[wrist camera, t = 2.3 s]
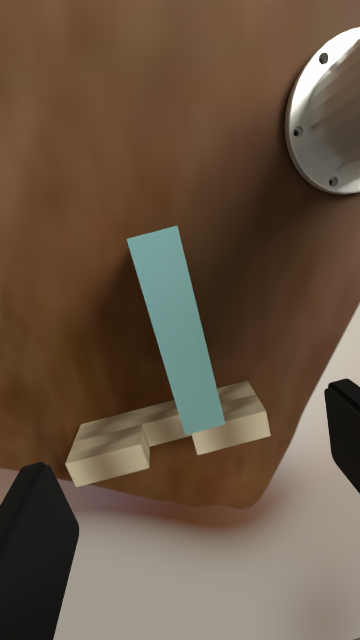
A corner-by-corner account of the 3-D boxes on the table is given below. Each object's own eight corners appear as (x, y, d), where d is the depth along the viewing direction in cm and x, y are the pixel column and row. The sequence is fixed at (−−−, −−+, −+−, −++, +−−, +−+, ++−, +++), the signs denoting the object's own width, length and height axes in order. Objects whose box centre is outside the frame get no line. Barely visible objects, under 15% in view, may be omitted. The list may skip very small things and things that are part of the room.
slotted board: (247, 380, 34) (265, 410, 28) (251, 401, 34) (270, 435, 29) (80, 424, 34) (65, 464, 28) (89, 444, 34) (76, 487, 29)
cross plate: (139, 235, 28) (126, 239, 17) (169, 228, 28) (177, 225, 17) (175, 362, 32) (185, 435, 21) (201, 355, 32) (225, 424, 21)
